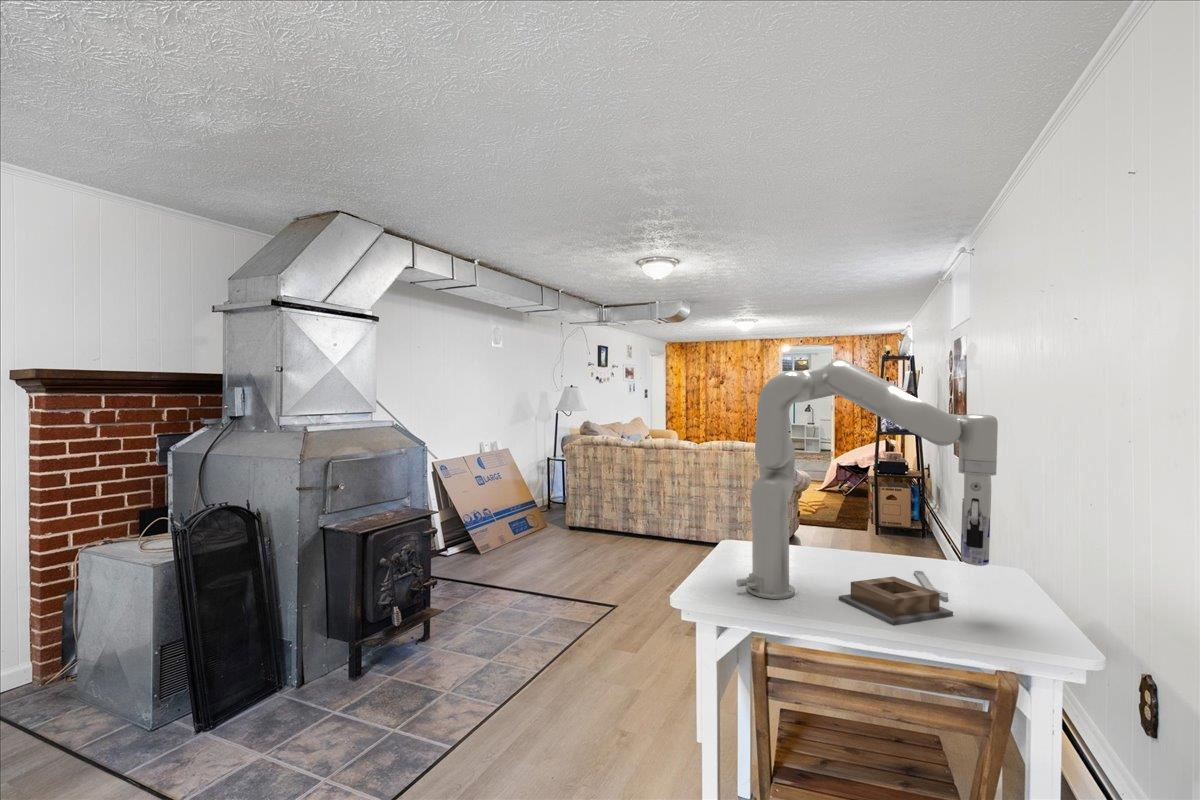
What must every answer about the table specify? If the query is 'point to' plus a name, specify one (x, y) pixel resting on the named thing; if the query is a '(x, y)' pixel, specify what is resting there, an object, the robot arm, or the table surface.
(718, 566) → the table surface
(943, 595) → the adjustable wrench
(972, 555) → the beverage can
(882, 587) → the holder
